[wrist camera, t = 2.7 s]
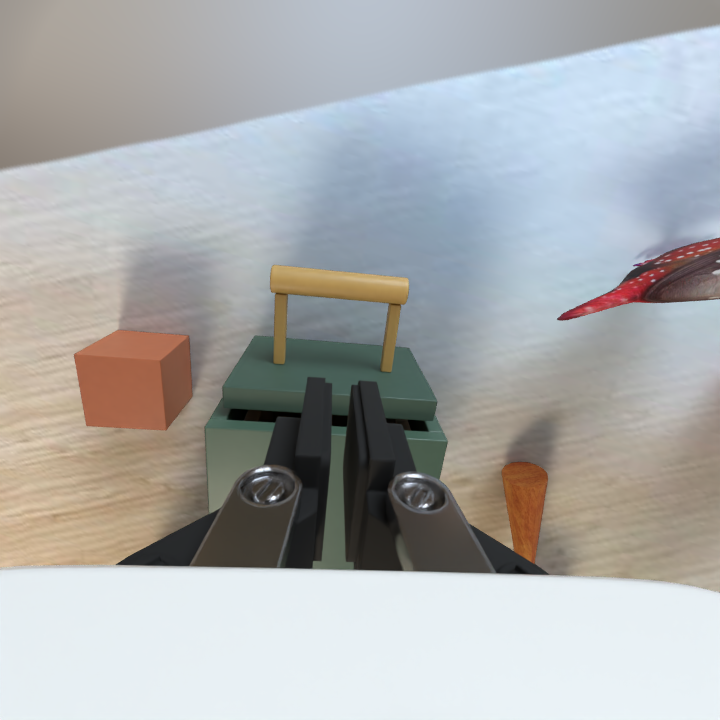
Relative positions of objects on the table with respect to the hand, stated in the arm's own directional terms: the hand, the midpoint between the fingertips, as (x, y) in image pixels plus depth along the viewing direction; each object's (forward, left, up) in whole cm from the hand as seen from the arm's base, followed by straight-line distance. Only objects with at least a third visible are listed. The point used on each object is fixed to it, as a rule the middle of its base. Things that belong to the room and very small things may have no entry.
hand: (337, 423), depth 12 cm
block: (-12, -5, -15) cm, 20 cm away
